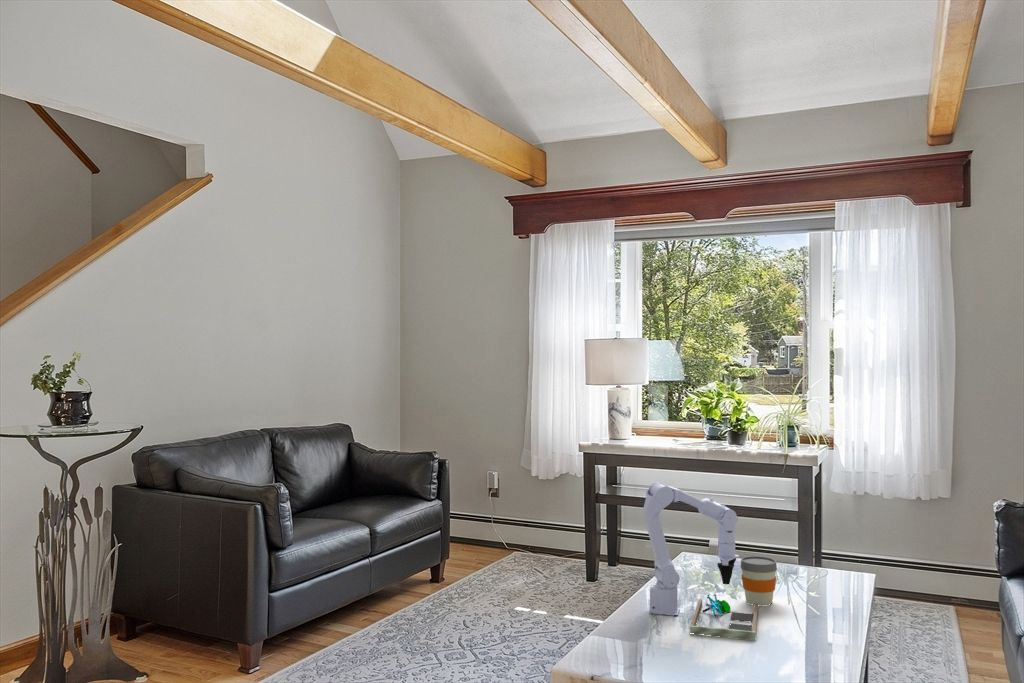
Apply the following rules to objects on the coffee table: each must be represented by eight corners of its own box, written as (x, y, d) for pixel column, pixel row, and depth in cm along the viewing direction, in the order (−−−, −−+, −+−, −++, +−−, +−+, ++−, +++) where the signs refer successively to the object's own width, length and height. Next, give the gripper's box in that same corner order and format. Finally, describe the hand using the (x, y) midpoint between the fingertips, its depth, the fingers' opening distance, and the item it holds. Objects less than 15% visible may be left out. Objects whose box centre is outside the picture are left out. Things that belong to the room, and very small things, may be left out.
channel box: (690, 634, 264) (690, 626, 264) (699, 606, 293) (699, 599, 293) (755, 640, 258) (755, 632, 258) (758, 611, 286) (758, 603, 286)
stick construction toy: (714, 613, 278) (707, 591, 282) (699, 621, 281) (692, 599, 286) (736, 616, 284) (728, 595, 289) (721, 624, 288) (714, 603, 293)
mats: (728, 632, 266) (728, 631, 266) (732, 612, 285) (732, 612, 285) (751, 634, 264) (750, 633, 264) (753, 614, 283) (753, 613, 283)
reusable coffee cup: (738, 605, 293) (738, 563, 293) (743, 595, 304) (742, 554, 305) (776, 609, 288) (775, 566, 288) (778, 599, 300) (778, 557, 300)
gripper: (737, 547, 282) (737, 587, 282) (739, 538, 295) (740, 576, 295) (715, 546, 284) (716, 586, 284) (719, 537, 298) (720, 574, 298)
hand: (727, 581), depth 290 cm, fingers open, 7 cm apart
